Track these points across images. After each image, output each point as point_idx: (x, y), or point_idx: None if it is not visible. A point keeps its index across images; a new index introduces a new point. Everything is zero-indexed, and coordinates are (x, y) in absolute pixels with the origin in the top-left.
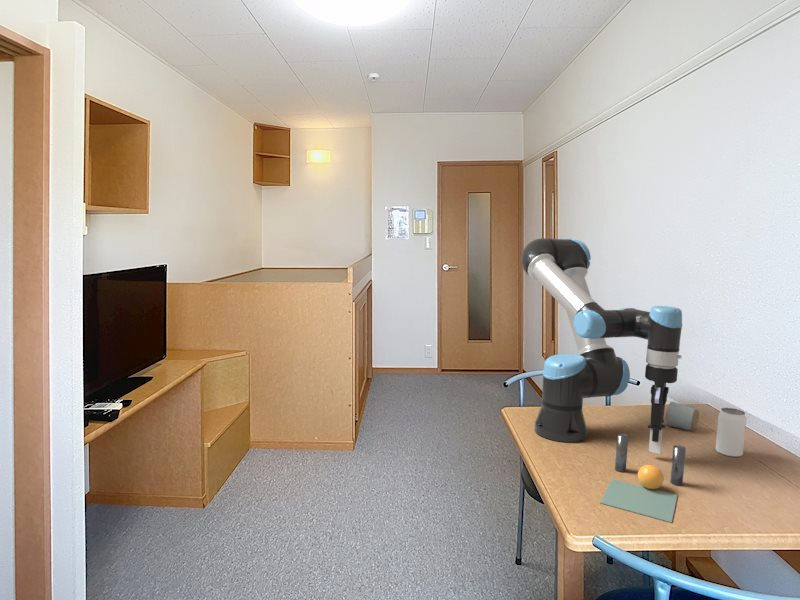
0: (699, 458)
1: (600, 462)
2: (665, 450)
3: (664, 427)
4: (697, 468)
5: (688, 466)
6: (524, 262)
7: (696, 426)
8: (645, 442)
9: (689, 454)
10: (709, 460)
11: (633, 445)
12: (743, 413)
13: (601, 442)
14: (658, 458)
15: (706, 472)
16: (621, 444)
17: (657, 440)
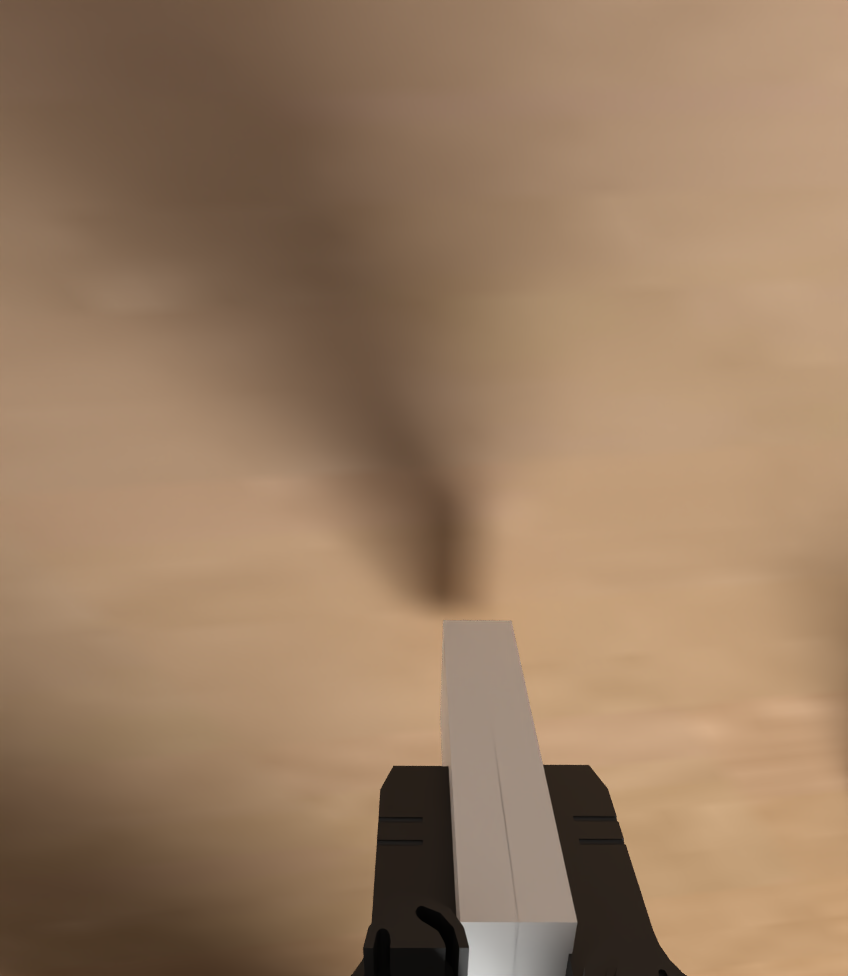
0: (86, 159)
1: (797, 917)
2: (126, 546)
3: (456, 930)
4: (495, 173)
5: (489, 284)
6: None
7: None
8: (43, 723)
9: (36, 292)
10: (55, 9)
11: (223, 793)
12: None
13: (342, 967)
14: (433, 585)
15: (580, 47)
16: None
17: (604, 793)
